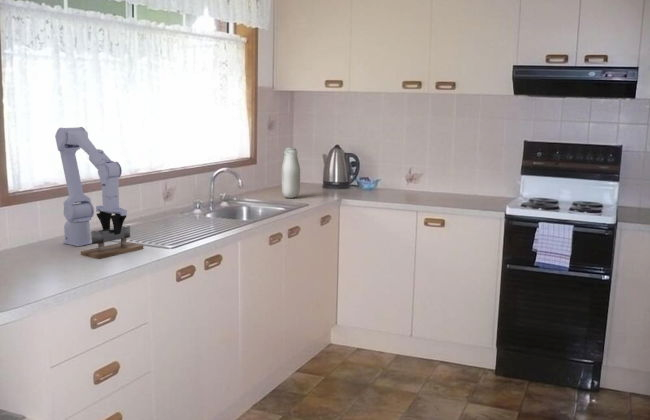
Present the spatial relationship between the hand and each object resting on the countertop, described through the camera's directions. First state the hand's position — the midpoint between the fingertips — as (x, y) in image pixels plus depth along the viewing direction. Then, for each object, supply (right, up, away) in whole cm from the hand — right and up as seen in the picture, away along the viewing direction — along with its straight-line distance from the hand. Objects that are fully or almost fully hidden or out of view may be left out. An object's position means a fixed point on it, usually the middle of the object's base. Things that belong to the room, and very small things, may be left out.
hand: (112, 233), depth 251 cm
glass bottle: (+58, +15, +133) cm, 146 cm away
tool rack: (0, -7, +1) cm, 7 cm away
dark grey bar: (0, -2, 0) cm, 2 cm away
